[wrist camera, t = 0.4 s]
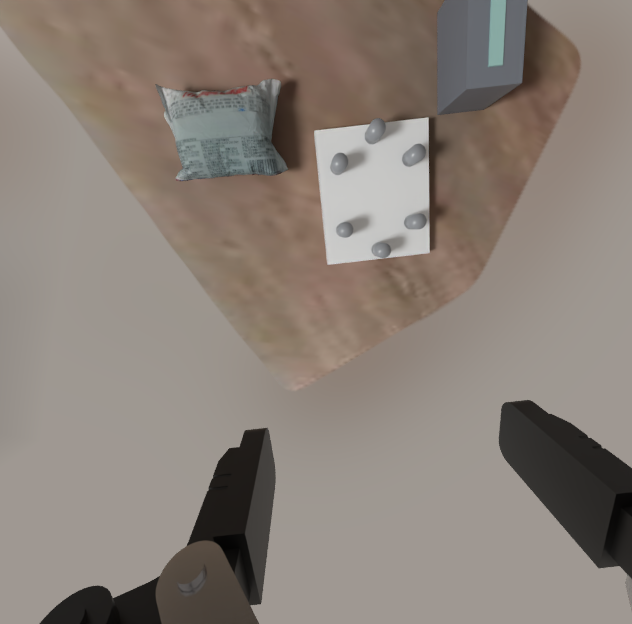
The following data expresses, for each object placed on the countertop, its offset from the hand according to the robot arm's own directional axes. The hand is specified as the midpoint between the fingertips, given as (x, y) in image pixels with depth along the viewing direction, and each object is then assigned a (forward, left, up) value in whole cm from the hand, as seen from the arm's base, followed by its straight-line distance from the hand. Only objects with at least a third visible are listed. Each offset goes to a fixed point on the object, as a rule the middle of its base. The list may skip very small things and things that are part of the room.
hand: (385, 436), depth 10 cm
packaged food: (-18, -9, -28) cm, 34 cm away
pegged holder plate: (-10, +6, -27) cm, 30 cm away
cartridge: (-22, +16, -27) cm, 39 cm away
